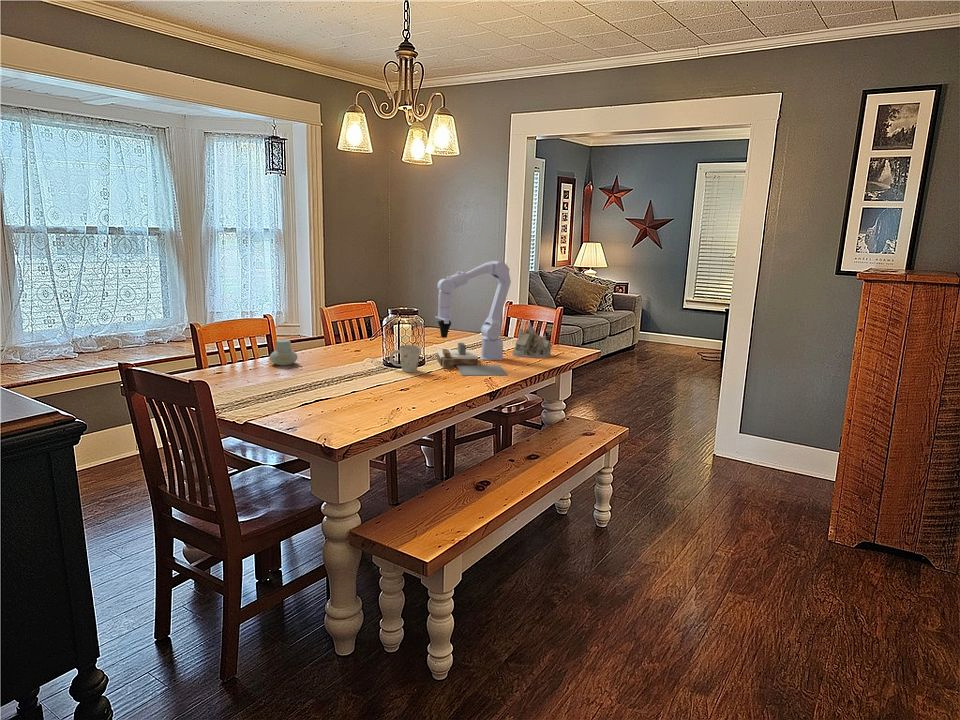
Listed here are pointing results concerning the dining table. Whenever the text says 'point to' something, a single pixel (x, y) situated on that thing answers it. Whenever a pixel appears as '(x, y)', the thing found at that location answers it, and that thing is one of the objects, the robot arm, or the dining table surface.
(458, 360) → the brown wooden tray
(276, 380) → the dining table surface
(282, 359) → the air freshener
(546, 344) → the ceramic cottage
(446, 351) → the key
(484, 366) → the mat
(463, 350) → the lid
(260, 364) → the dining table surface
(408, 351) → the mug
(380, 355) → the dining table surface
